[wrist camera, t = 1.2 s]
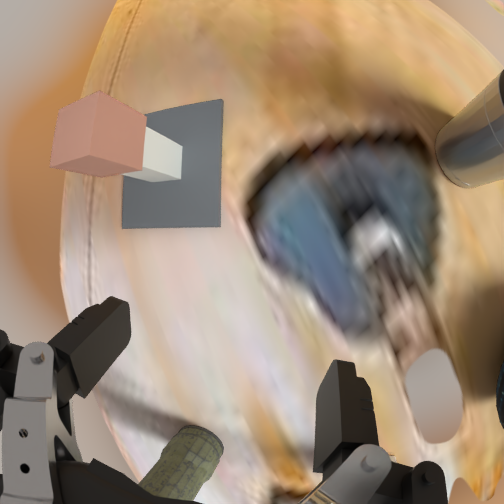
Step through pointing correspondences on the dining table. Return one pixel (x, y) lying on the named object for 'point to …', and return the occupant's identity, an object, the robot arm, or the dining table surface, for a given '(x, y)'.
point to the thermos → (184, 464)
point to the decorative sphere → (500, 396)
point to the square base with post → (178, 170)
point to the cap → (99, 137)
